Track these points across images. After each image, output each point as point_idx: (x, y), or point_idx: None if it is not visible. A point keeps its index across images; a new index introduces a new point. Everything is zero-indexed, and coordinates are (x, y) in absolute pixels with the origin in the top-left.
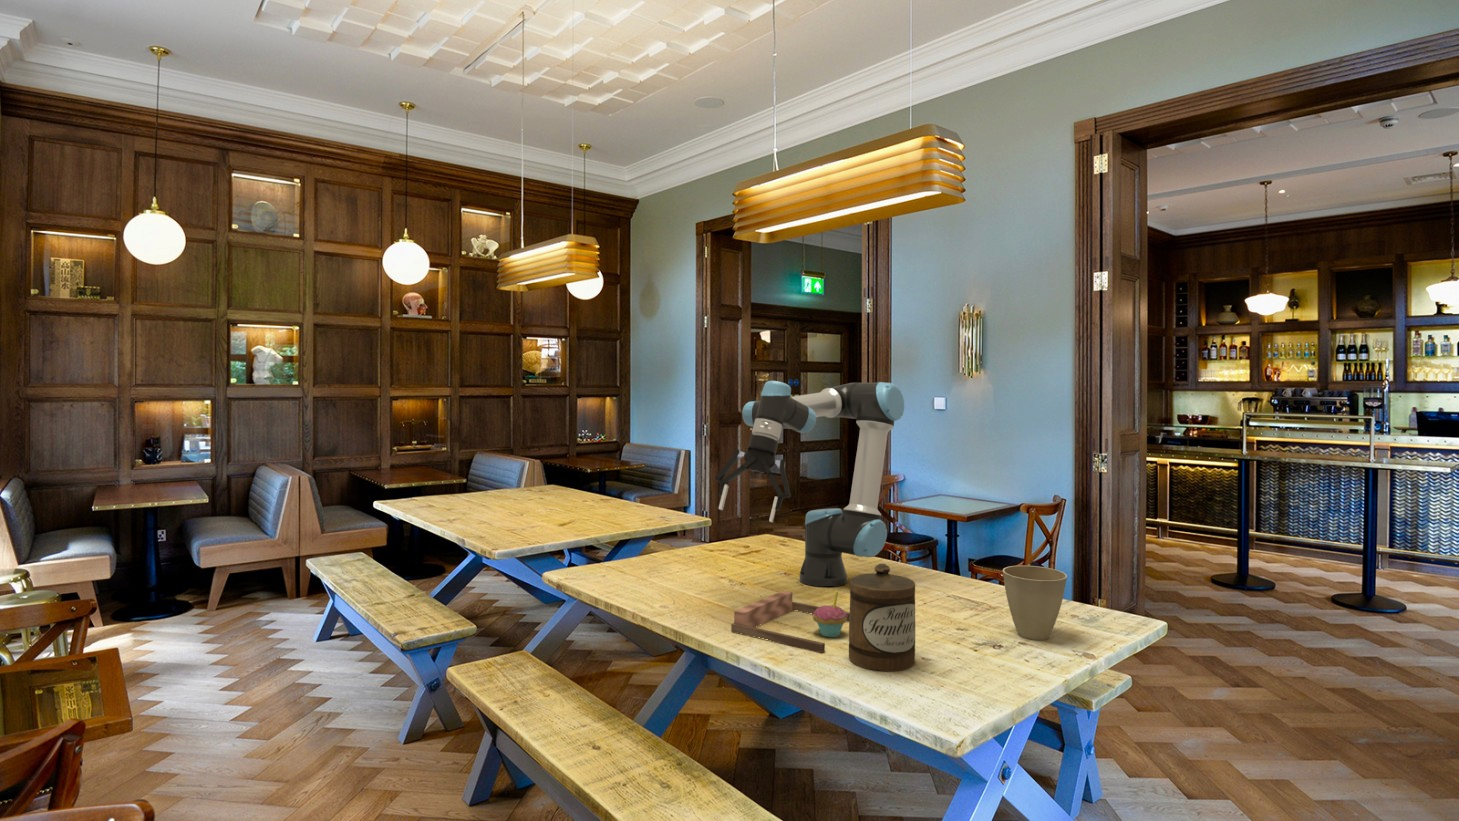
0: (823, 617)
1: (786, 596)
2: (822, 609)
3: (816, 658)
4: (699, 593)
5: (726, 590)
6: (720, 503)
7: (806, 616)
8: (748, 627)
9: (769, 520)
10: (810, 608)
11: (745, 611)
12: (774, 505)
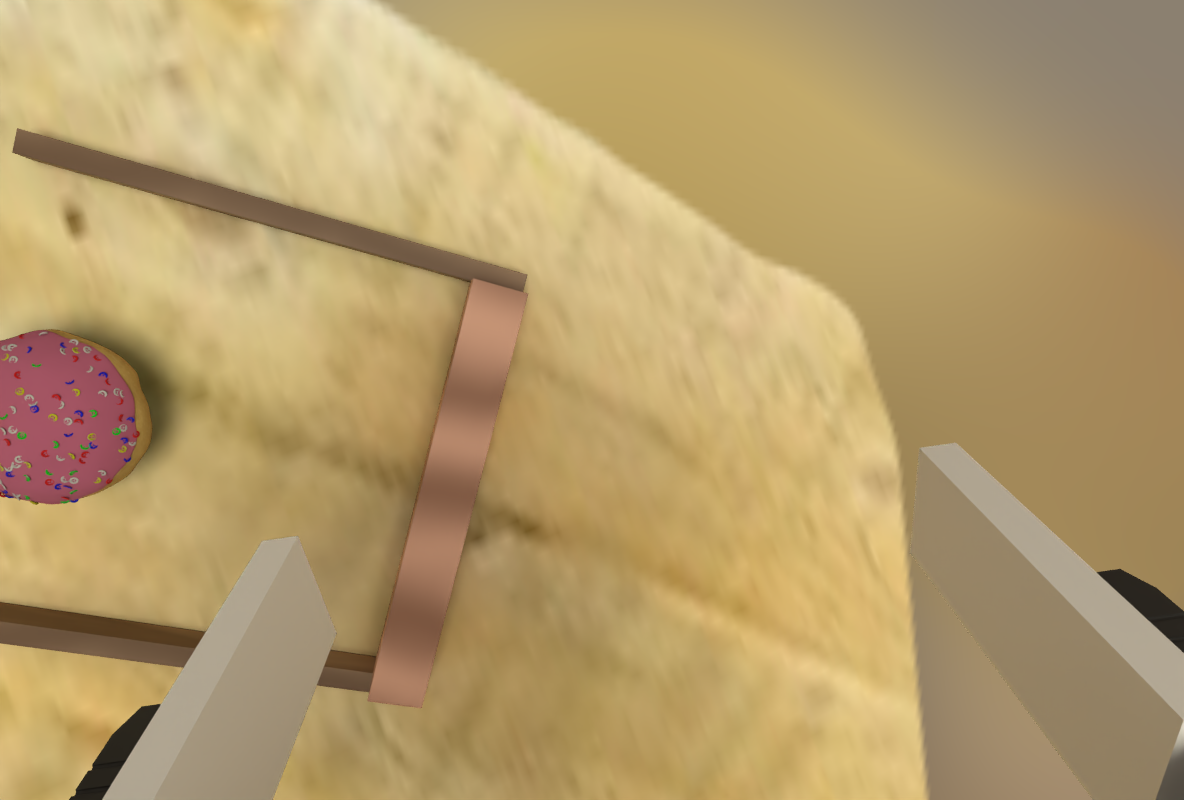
0: (50, 337)
1: (381, 644)
2: (57, 384)
3: (43, 62)
4: (818, 700)
5: (733, 788)
6: (984, 479)
7: None
8: (439, 255)
9: (290, 537)
10: None
11: (475, 307)
12: (175, 705)
